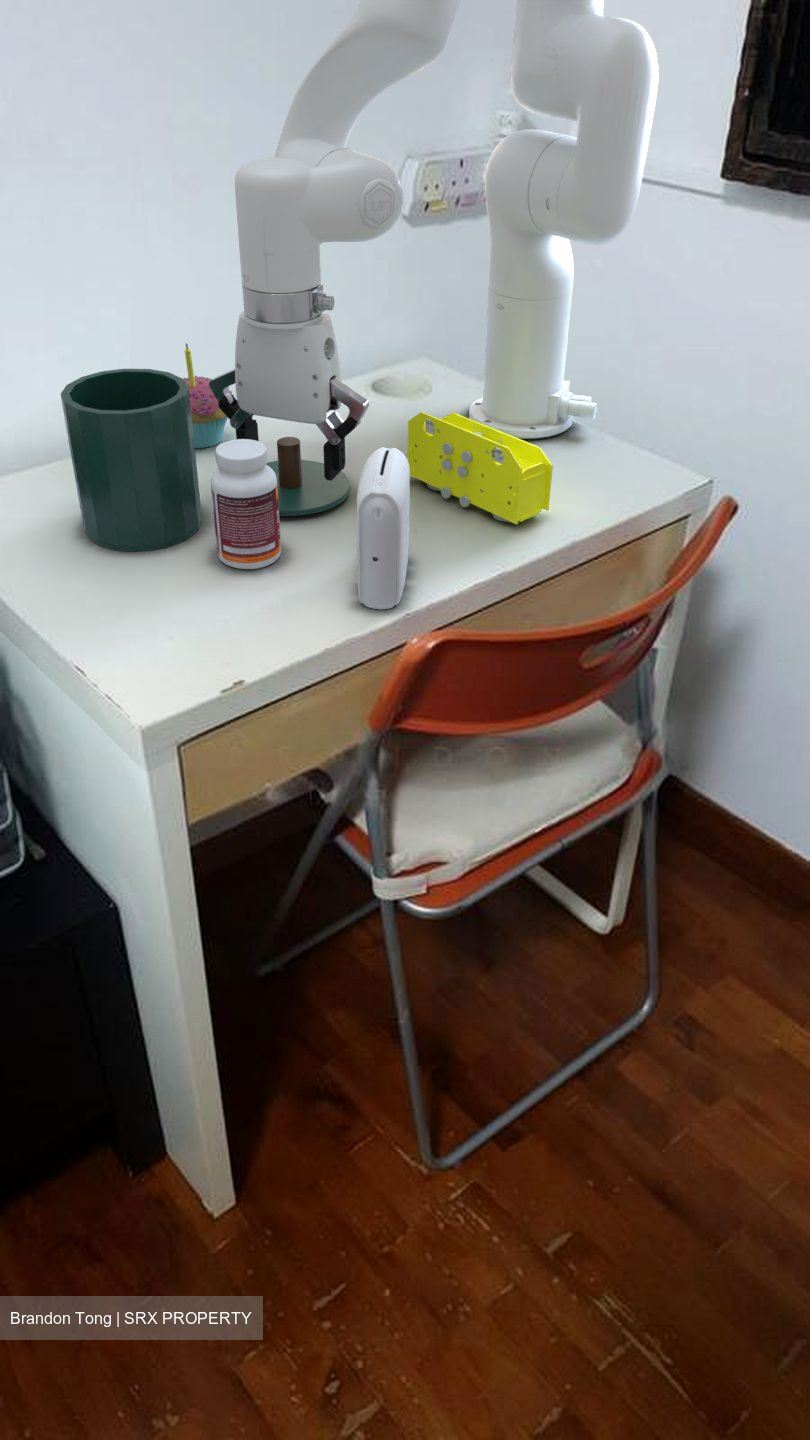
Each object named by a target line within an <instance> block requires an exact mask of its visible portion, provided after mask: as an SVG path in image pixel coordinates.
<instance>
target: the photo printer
mask: <svg viewBox="0 0 810 1440" xmlns="http://www.w3.org/2000/svg"><path fill="white" fill-rule="evenodd" d="M359 478H360V479H359V482H358V488H357V493H356V526H357V527H356V528H357V529H356V531H357V533H356V534H357V535H356V537H357V539H356V540H357V541H356V542H357V592H358V601H359V603H360V604H363V605H364V607H366V608H369V609H373V610H389V609H393V608H394V606H398V605H399V603H400V601H401V600H402V596H403V592H404V588H405V583H406V578H407V571H408V563H409V548H410V499H411V498H410V496H411V495H410V492H411V491H410V489H411V486H410V485H411V476H410V468H409V463H408V458H407V457H406V456H405V454H404V453H403V452H402V451H401V450H399V449H398V448H396V447H393V448H387V447H384V446H382V447H379V448H377V449H376V450H375V451H373V452H372V453H371V455H370V456H368V458H367V460H366V462H365V463H364V466H363V468H362V472H361V475H360V477H359Z"/></svg>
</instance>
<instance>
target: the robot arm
mask: <svg viewBox="0 0 810 1440" xmlns="http://www.w3.org/2000/svg"><path fill="white" fill-rule="evenodd" d="M461 1H462V0H359V4H358V6H357V9H356V11H355V13H354V15H353V17H352V18H351V19H350V21H348V23H346V25H345V26H344V27H343V29H342V30H341V31H340V32H339V33H338V34H337V35H336V36H335V37H334V38H333V40H332V41H331V43H330V44H329V45H328V46H327V47H326V48H325V50H324V51H323V53H322V54H321V55H320V56H319V58H317V60H316V61H315V62H314V64H313V66H311V68H310V69H309V70H308V72H307V73H306V75H305V76H304V78H303V79H302V81H301V83H300V84H299V86H298V88H297V90H296V92H295V94H294V96H293V99H292V101H291V104H290V106H289V109H288V112H287V115H286V118H285V120H284V123H283V127H282V130H281V133H280V135H279V139H278V142H277V146H276V150H275V153H274V157H267V158H257V159H252V160H250V161H247V162H245V163H243V164H242V165H240V166H239V168H238V169H237V171H236V173H235V177H234V194H235V195H234V196H235V207H236V208H235V209H236V224H237V238H238V249H239V250H238V251H239V261H240V262H239V263H240V264H239V265H240V275H241V276H240V277H241V287H242V289H241V290H242V299H243V300H242V302H243V311H241V313H240V314H239V315H238V320H237V326H236V327H237V328H236V335H235V350H234V368H233V369H229V370H228V371H226V372H224V373H221V374H220V375H217V376H215V377H214V378H211V379H212V380H211V381H210V382H209V387H210V389H211V391H212V392H213V394H214V396H215V398H216V400H218V406H219V408H220V409H221V410H222V412H223V413H224V414H225V415H226V416H227V417H228V418H227V419H228V420H229V425H230V426H231V428H233V429H235V440H237V439H250V440H256V441H259V442H260V438H259V426H258V422H257V419H254V418H253V417H254V416H259V417H264V418H270V419H275V420H283V421H288V422H296V423H300V424H301V423H302V424H310V425H316V427H318V429H319V430H320V432H321V433H322V435H323V436H324V437H325V439H326V440H327V441H326V442H325V443H324V444H323V463H324V477H325V478H326V480H330V481H332V480H333V479H334V478H335V477H336V476H337V475H338V474H339V473H340V472H341V471H342V472H343V470H344V469H345V467H346V437H347V436H348V435H349V434H351V433H352V432H353V431H354V430H355V429H356V428H357V427H358V426H360V424H361V422H362V420H363V418H364V416H365V414H366V412H367V411H368V408H369V405H370V402H369V400H368V399H367V398H366V397H364V396H362V395H361V394H359V393H358V392H357V391H355V389H354V390H353V389H352V388H351V387H349V386H347V384H345V383H344V382H342V376H341V375H342V374H341V366H340V365H341V364H340V358H339V357H340V356H339V351H338V350H339V349H338V345H337V339H336V335H335V330H334V326H333V323H332V319H331V316H330V315H329V314H326V313H324V312H325V311H333V309H334V307H335V297H334V296H333V295H330V294H329V295H328V294H326V292H325V293H324V284H323V283H322V275H321V273H322V271H321V270H322V269H321V245H322V244H323V243H360V242H361V243H362V242H368V241H372V240H375V239H378V238H379V237H382V236H383V235H385V234H386V233H388V232H389V231H390V230H391V229H392V228H393V227H394V226H395V224H396V223H397V221H398V220H399V218H400V216H401V214H402V210H403V206H404V190H403V186H402V182H401V180H400V178H399V176H398V174H397V173H396V171H394V169H393V168H392V167H391V166H390V165H389V164H388V163H387V162H385V161H383V160H382V159H380V158H378V157H375V156H373V155H370V154H367V153H364V152H360V151H357V150H353V149H350V148H347V147H346V146H347V143H348V140H349V138H350V136H351V133H352V132H353V129H354V127H355V125H356V123H357V121H358V119H359V118H360V117H361V115H362V113H363V112H364V111H365V110H366V108H367V107H368V106H369V105H370V104H371V102H373V101H374V100H375V99H376V98H377V97H378V96H379V95H380V94H382V93H383V92H384V91H386V90H387V89H389V88H390V87H392V86H394V85H396V84H397V83H400V82H401V81H403V80H405V79H407V78H409V77H411V76H413V75H415V74H416V73H418V72H420V71H422V70H423V69H425V68H426V67H428V66H430V65H431V64H433V63H435V61H437V60H438V59H439V58H440V57H441V55H442V54H443V52H444V50H445V47H446V44H447V41H448V38H449V35H450V33H451V29H452V28H453V27H452V26H453V24H454V21H455V19H456V18H455V17H456V14H457V11H458V10H459V6H460V4H461ZM515 10H516V12H515V20H514V21H515V22H514V30H513V40H512V48H511V59H510V90H511V94H512V96H513V98H514V100H515V102H516V103H517V104H518V105H519V106H520V107H521V108H523V109H524V110H525V111H528V112H530V113H532V114H535V115H537V116H538V115H539V116H541V117H545V118H549V119H550V118H551V119H554V120H560V121H564V122H570V123H574V124H577V134H576V135H577V136H574V135H568V134H565V133H559V132H555V131H551V130H544V129H536V128H532V129H531V128H530V129H522V130H517V131H514V132H512V133H511V134H508V135H507V136H505V137H504V138H503V139H501V140H500V141H499V143H497V145H496V146H495V148H494V149H493V151H492V152H491V154H490V155H489V159H488V161H487V164H486V168H485V174H484V197H485V206H486V213H487V220H488V229H489V271H488V272H489V275H488V287H487V288H488V291H487V308H486V309H487V311H486V325H485V327H486V328H485V329H486V331H485V344H484V346H485V347H484V365H483V367H484V368H483V383H482V396H481V397H480V398H477V399H476V400H475V401H473V402H472V403H471V404H470V405H469V410H468V419H471V420H473V421H476V422H478V423H481V424H483V425H486V426H488V427H491V428H493V429H496V430H498V431H501V432H503V433H506V434H508V435H511V436H513V437H516V438H518V439H521V440H525V439H526V440H529V439H531V440H532V439H543V438H549V437H553V436H556V435H559V434H561V433H563V432H566V431H567V430H568V429H569V428H570V427H571V426H572V424H573V422H574V417H577V418H580V419H584V420H586V419H587V420H593V421H594V420H595V419H596V416H597V412H598V402H592V400H593V399H592V396H587V395H577V394H574V392H572V391H570V386H571V381H570V380H565V374H566V373H565V372H566V361H567V352H568V351H567V350H568V339H569V330H570V329H569V328H570V320H571V319H570V318H571V311H572V299H573V290H574V289H573V288H574V279H575V265H574V256H573V250H572V246H571V245H572V244H571V241H573V242H576V243H580V244H584V245H589V246H590V245H591V246H600V245H605V244H609V243H611V242H613V241H615V240H616V239H617V238H619V236H620V235H621V234H623V233H624V231H625V230H626V228H627V226H628V225H629V223H630V222H631V220H632V218H633V215H634V213H635V210H636V208H637V204H638V201H639V197H640V192H641V188H642V183H643V177H644V171H645V166H646V160H647V153H648V148H649V142H650V136H651V130H652V125H653V119H654V112H655V108H656V101H657V93H658V85H659V64H658V63H659V62H658V57H657V56H658V55H657V52H656V48H655V44H654V42H653V40H652V38H651V36H650V35H649V33H648V31H646V29H645V28H644V27H643V26H642V25H640V24H638V23H637V22H635V21H633V20H631V19H627V18H624V17H619V16H610V15H604V0H517V2H516V9H515ZM234 384H235V393H236V397H235V395H234V394H232V395H231V394H230V391H231V390H230V386H232V385H234ZM233 395H234V396H233ZM342 404H343V405H344V406H346V407H347V408H348V410H349V412H348V414H347V417H346V419H345V420H344V419H343V418H342V416H341V415H340V413H339V412H338V411H337V410H339V409H340V408H341V407H342Z"/></svg>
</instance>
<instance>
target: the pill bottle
mask: <svg viewBox="0 0 810 1440" xmlns="http://www.w3.org/2000/svg"><path fill="white" fill-rule="evenodd" d="M268 460H269V457H268V448H267V445H265V443H263V442H261V441H260V440H259V441H256V440H250V439H237V440H236V439H231V440H227V441H224V442H222V443H219V444H217V446H216V448H215V463H216V466H217V468H216V469H215V470H214V471H213V472H212V474H211V477H210V492H211V503H212V513H213V523H214V533H215V534H214V535H215V543H216V552H217V556H218V558H219V560H220V562H222V563H223V564H225V565H226V566H228V567H230V568H231V567H232V568H234V569H240V570H255V569H261V568H264V567H267V566H270V565H271V564H273V563H275V562H276V561H277V560H278V559H279V557H280V556H281V554H282V541H281V539H282V537H281V524H280V523H281V522H280V516H279V505H278V489H277V477H276V474H275V472H274V471H273V470H272V469H271V468H270V467H269V466H267V465H266V464H267V462H269V461H268Z"/></svg>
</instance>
